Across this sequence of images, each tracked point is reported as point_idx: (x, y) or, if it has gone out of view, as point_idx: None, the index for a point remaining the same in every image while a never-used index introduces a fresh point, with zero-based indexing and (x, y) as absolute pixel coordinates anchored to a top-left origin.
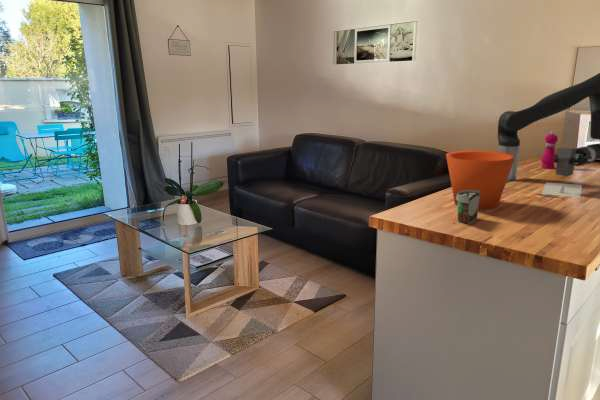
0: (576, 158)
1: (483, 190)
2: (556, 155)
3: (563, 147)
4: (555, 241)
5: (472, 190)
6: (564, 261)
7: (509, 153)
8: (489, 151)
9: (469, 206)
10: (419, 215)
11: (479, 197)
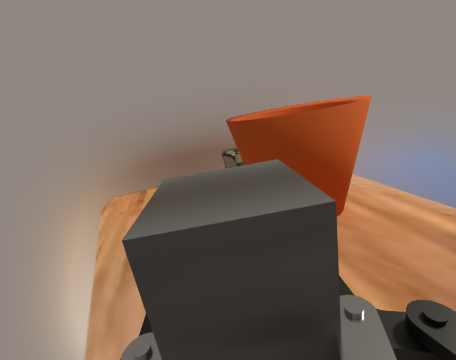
0: (137, 344)
1: None
2: (427, 310)
3: (294, 184)
4: (138, 206)
5: None
6: (124, 195)
7: None
8: (342, 105)
9: (225, 162)
10: None
11: None
